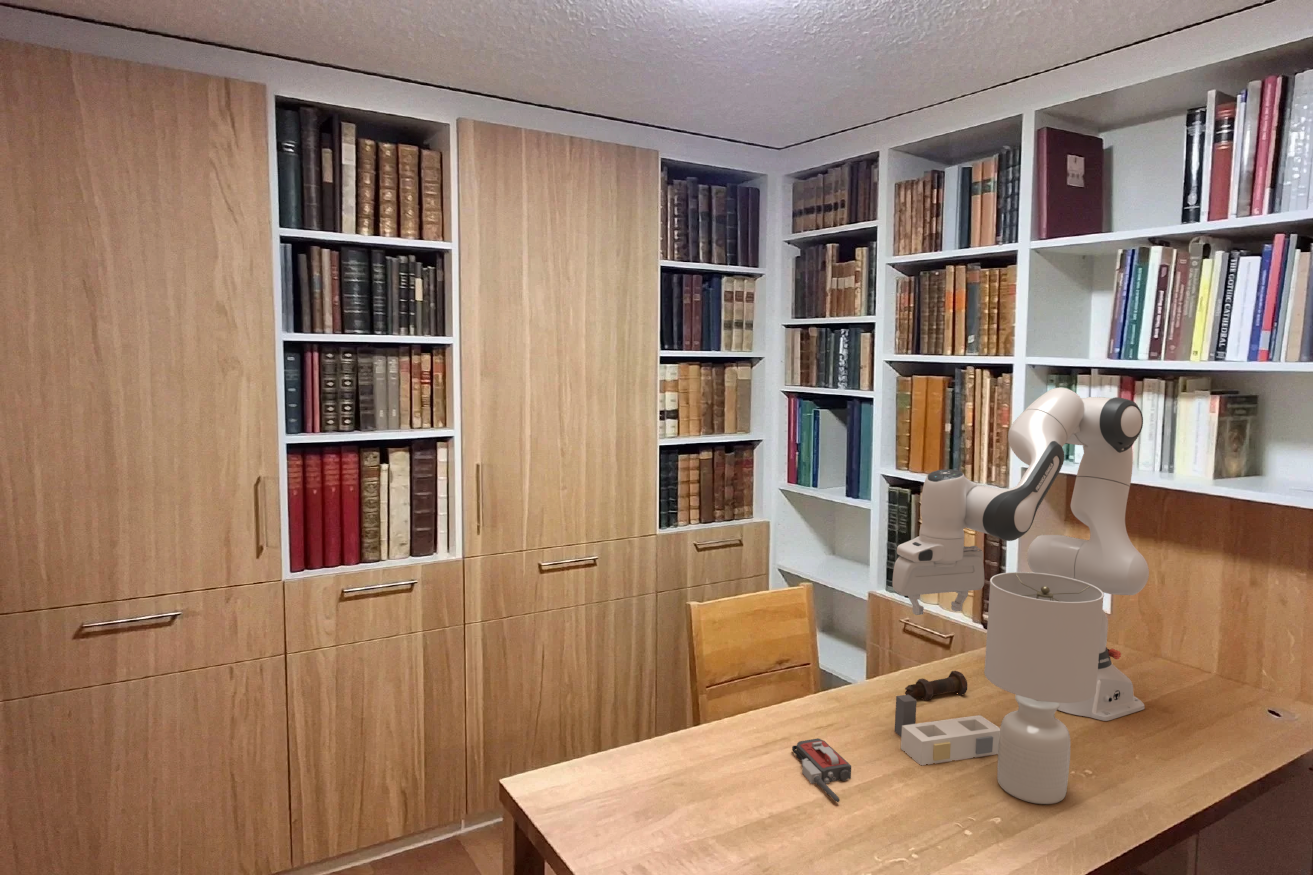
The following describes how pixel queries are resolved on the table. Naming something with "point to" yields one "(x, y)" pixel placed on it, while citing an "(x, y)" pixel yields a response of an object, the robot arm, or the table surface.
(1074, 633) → the lamp
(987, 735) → the white socket block
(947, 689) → the bolt
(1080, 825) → the table surface
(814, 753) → the walkie-talkie
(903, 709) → the plug
